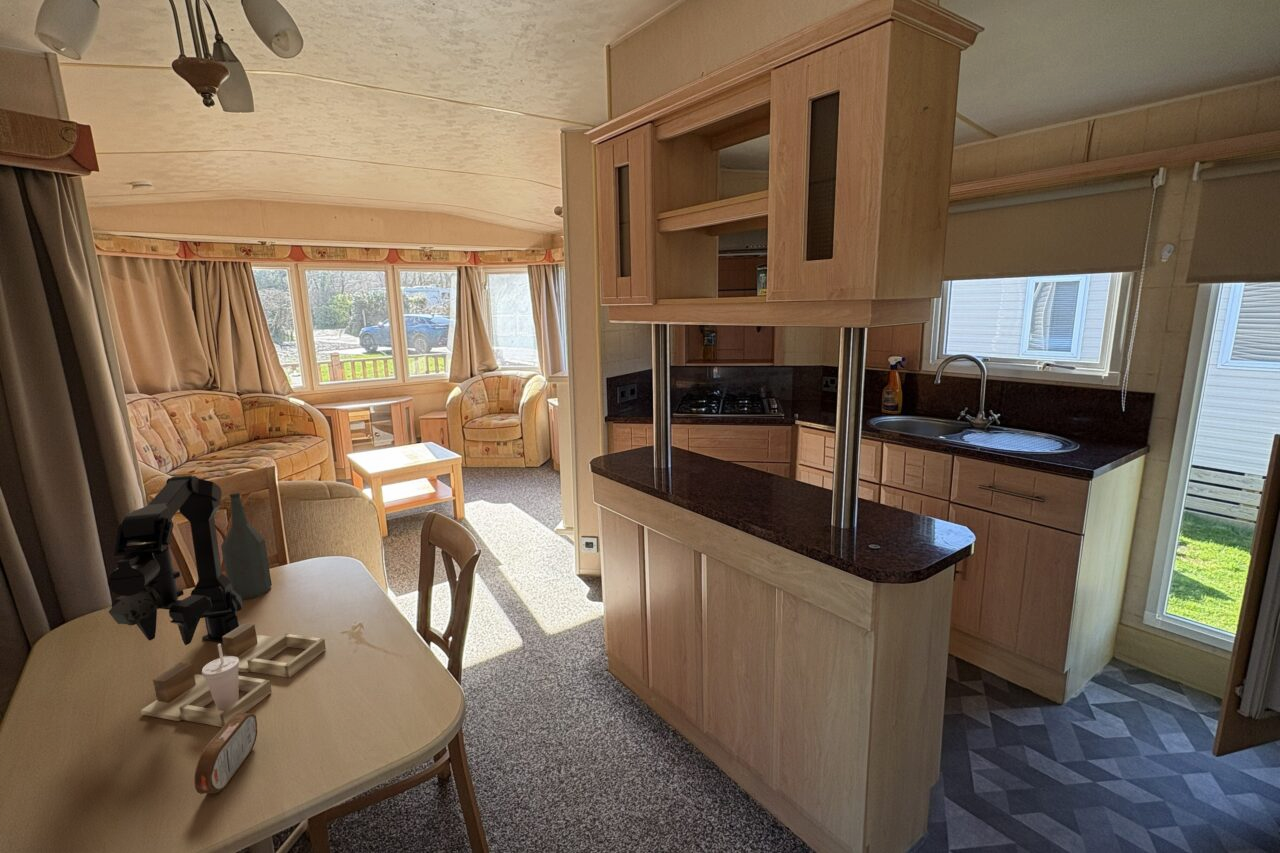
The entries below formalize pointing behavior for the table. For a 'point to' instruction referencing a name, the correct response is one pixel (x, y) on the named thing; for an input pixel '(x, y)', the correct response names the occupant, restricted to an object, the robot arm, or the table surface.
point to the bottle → (245, 555)
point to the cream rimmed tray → (199, 697)
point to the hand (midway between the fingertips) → (169, 641)
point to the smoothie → (223, 680)
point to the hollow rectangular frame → (269, 650)
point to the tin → (225, 753)
